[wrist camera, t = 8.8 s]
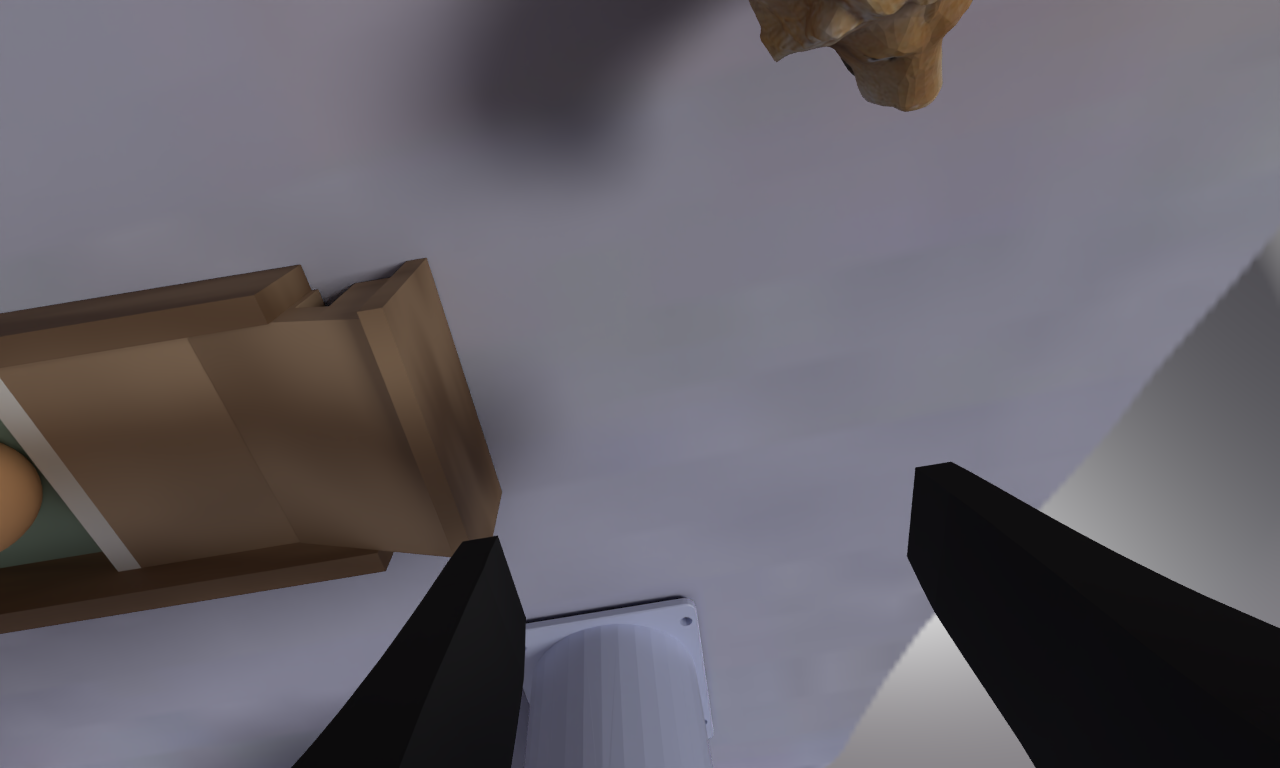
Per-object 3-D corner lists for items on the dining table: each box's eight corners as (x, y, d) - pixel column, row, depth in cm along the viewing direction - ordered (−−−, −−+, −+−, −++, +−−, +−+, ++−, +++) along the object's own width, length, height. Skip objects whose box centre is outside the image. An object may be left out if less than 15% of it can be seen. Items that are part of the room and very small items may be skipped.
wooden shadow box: (504, 500, 22) (487, 588, 18) (-10, 584, 22) (-133, 689, 18) (422, 244, 17) (375, 291, 14) (-227, 350, 17) (-451, 426, 14)
